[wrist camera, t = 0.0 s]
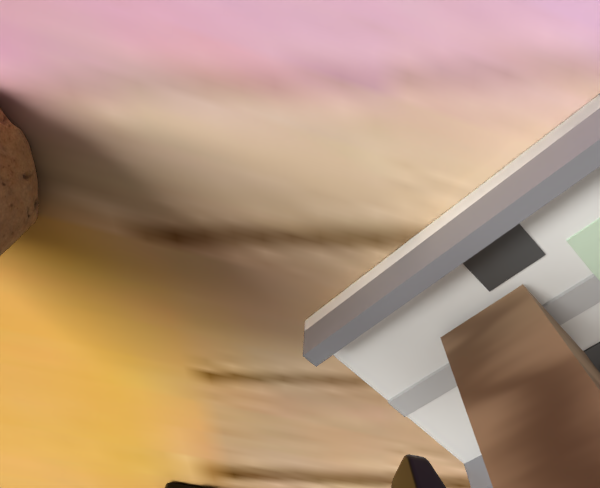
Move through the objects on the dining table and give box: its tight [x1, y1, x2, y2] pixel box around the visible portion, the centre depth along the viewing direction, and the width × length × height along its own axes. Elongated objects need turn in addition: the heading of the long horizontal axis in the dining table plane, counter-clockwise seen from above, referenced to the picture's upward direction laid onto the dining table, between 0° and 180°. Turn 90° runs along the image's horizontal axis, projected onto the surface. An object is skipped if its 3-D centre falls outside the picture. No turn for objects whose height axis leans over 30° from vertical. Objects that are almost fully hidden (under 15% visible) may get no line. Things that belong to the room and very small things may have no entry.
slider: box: [440, 284, 600, 488], centre depth 19 cm, size 5×6×11 cm
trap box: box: [303, 94, 600, 488], centre depth 22 cm, size 19×16×5 cm
